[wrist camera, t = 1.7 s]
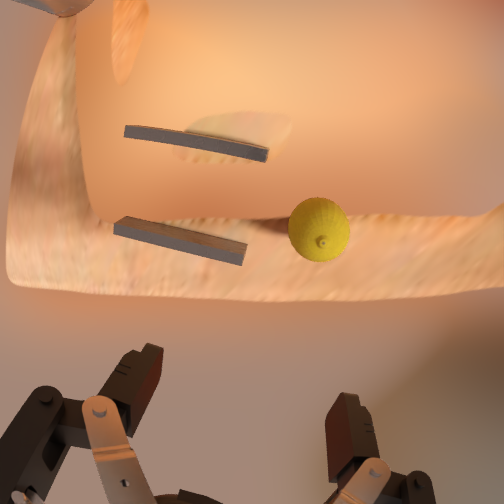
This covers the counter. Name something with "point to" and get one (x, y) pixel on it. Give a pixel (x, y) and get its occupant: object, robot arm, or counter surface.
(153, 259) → the counter surface
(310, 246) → the lemon
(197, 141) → the guide channel
